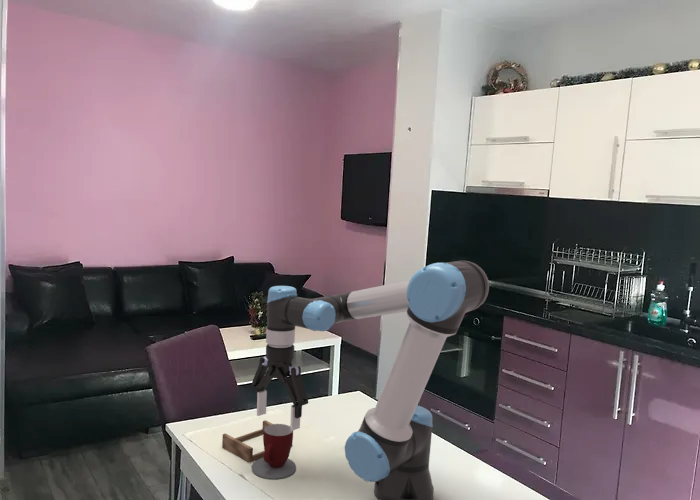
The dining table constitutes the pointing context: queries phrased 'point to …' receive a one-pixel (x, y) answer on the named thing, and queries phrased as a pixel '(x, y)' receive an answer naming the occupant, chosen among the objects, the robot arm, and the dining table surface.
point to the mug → (277, 444)
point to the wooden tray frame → (244, 445)
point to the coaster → (273, 469)
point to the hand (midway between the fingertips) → (277, 421)
